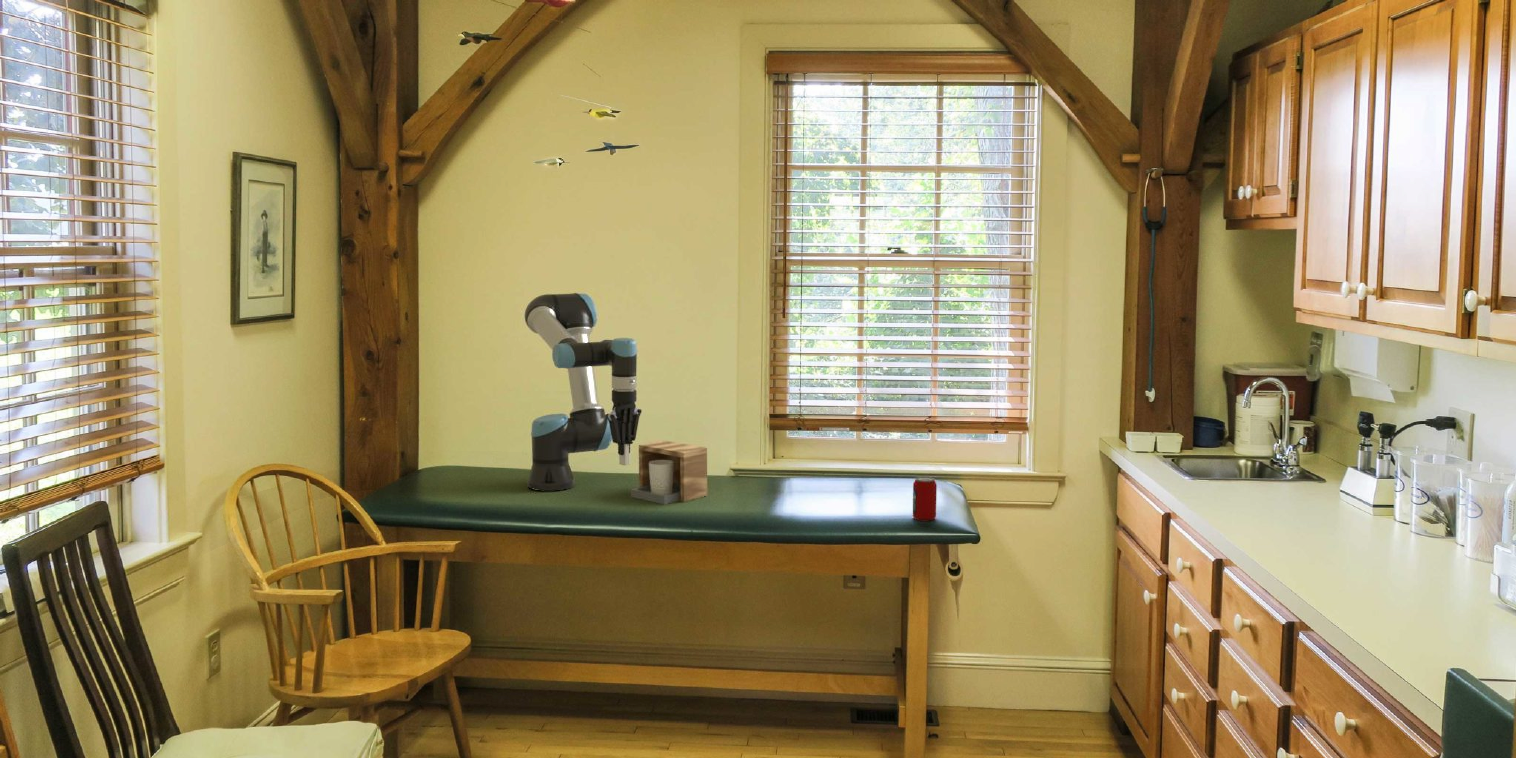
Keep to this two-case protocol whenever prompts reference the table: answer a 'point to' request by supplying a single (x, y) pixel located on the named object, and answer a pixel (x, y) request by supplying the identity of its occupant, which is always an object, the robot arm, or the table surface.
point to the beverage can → (924, 498)
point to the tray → (646, 494)
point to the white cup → (661, 476)
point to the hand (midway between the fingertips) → (624, 464)
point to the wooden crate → (677, 466)
